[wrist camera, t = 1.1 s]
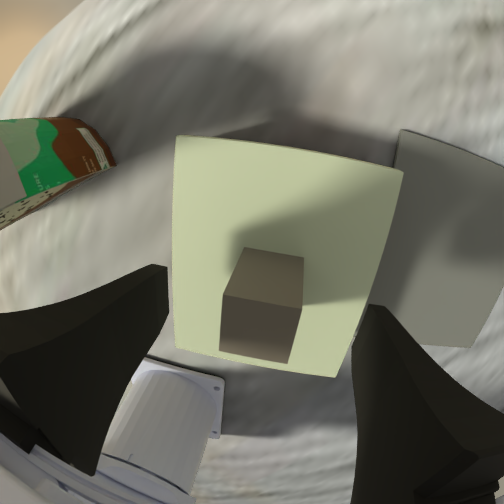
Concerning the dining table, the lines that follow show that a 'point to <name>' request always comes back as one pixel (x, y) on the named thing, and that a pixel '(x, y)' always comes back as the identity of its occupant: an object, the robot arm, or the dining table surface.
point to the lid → (275, 250)
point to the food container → (46, 162)
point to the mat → (442, 243)
